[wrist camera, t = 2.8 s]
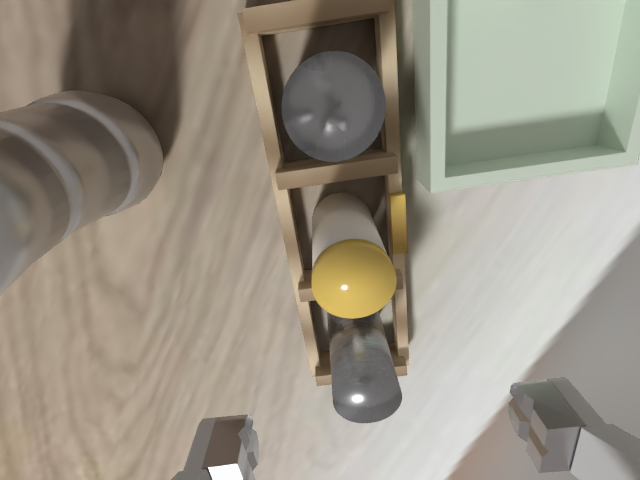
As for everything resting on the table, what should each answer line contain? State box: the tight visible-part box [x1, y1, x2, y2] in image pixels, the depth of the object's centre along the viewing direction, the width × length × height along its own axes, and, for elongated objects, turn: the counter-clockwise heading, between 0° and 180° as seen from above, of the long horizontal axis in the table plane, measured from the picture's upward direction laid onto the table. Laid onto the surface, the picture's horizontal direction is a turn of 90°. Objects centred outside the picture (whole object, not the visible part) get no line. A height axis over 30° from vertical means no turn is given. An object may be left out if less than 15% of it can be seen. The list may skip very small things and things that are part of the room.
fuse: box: [311, 193, 397, 319], centre depth 21 cm, size 4×4×8 cm
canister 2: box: [327, 311, 402, 423], centre depth 24 cm, size 4×4×8 cm
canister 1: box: [282, 51, 386, 162], centre depth 17 cm, size 4×4×8 cm
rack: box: [238, 0, 409, 386], centre depth 23 cm, size 25×8×2 cm, turn 8°
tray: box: [413, 0, 640, 193], centre depth 19 cm, size 12×12×3 cm
